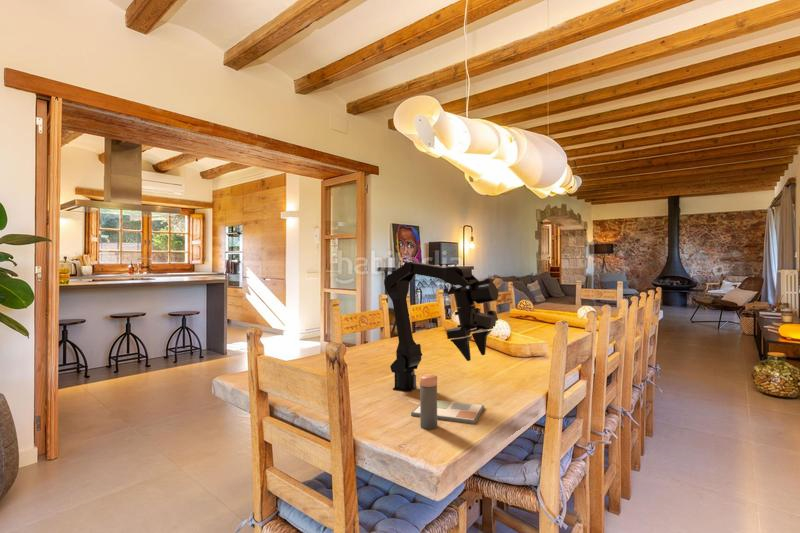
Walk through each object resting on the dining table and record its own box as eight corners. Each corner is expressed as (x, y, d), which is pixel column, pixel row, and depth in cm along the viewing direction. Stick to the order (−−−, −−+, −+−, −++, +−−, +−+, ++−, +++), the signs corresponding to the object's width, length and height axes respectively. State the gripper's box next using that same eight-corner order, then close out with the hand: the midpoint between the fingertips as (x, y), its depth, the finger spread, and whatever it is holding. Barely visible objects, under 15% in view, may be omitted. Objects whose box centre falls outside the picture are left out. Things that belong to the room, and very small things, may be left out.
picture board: (411, 415, 116) (411, 412, 116) (425, 401, 128) (425, 397, 128) (475, 424, 109) (475, 420, 109) (484, 407, 121) (484, 404, 121)
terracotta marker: (417, 428, 107) (417, 378, 107) (423, 422, 111) (422, 373, 111) (434, 430, 105) (434, 379, 105) (439, 424, 109) (439, 375, 109)
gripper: (474, 304, 114) (485, 361, 112) (502, 299, 129) (513, 349, 127) (440, 311, 121) (451, 364, 119) (471, 305, 136) (481, 353, 134)
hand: (476, 357), depth 124 cm, fingers open, 9 cm apart
